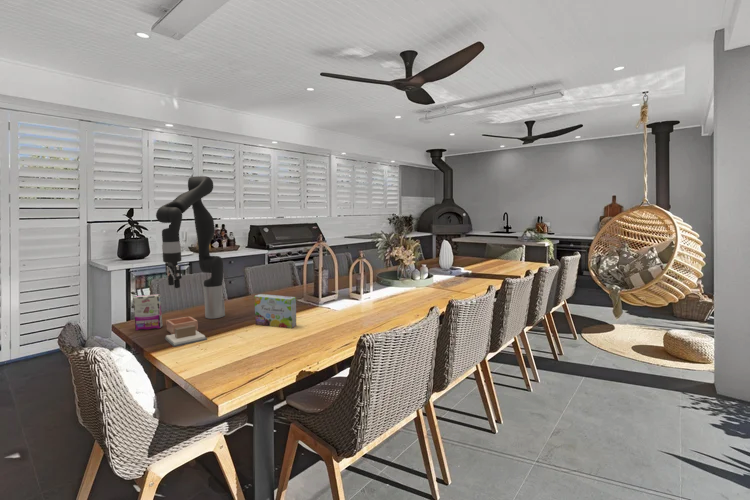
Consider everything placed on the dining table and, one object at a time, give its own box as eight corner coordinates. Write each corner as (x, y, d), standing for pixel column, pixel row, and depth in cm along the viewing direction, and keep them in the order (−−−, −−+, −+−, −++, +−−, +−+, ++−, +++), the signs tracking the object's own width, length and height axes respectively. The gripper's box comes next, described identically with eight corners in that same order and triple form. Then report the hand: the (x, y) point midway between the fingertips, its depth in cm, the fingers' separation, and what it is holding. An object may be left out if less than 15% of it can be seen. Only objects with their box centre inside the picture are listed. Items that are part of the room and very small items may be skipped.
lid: (195, 331, 195) (195, 321, 194) (205, 338, 185) (205, 327, 184) (165, 337, 186) (165, 327, 185) (174, 344, 176) (173, 333, 176)
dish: (190, 325, 206) (190, 316, 206) (198, 330, 198) (197, 320, 198) (166, 330, 199) (166, 320, 199) (173, 335, 191) (173, 325, 190)
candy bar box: (162, 326, 206) (161, 293, 205) (160, 328, 202) (158, 296, 200) (137, 327, 203) (135, 295, 202) (135, 330, 199) (132, 297, 197)
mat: (196, 332, 195) (196, 331, 195) (207, 339, 185) (207, 338, 185) (164, 339, 186) (164, 337, 186) (174, 346, 176) (173, 345, 176)
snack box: (254, 325, 208) (253, 295, 207) (261, 322, 213) (260, 293, 212) (291, 329, 201) (290, 298, 200) (297, 325, 207) (296, 296, 205)
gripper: (185, 252, 184) (188, 287, 186) (175, 249, 194) (177, 283, 196) (167, 253, 179) (170, 290, 181) (158, 250, 189) (160, 285, 191)
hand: (174, 286), depth 189 cm, fingers open, 8 cm apart
